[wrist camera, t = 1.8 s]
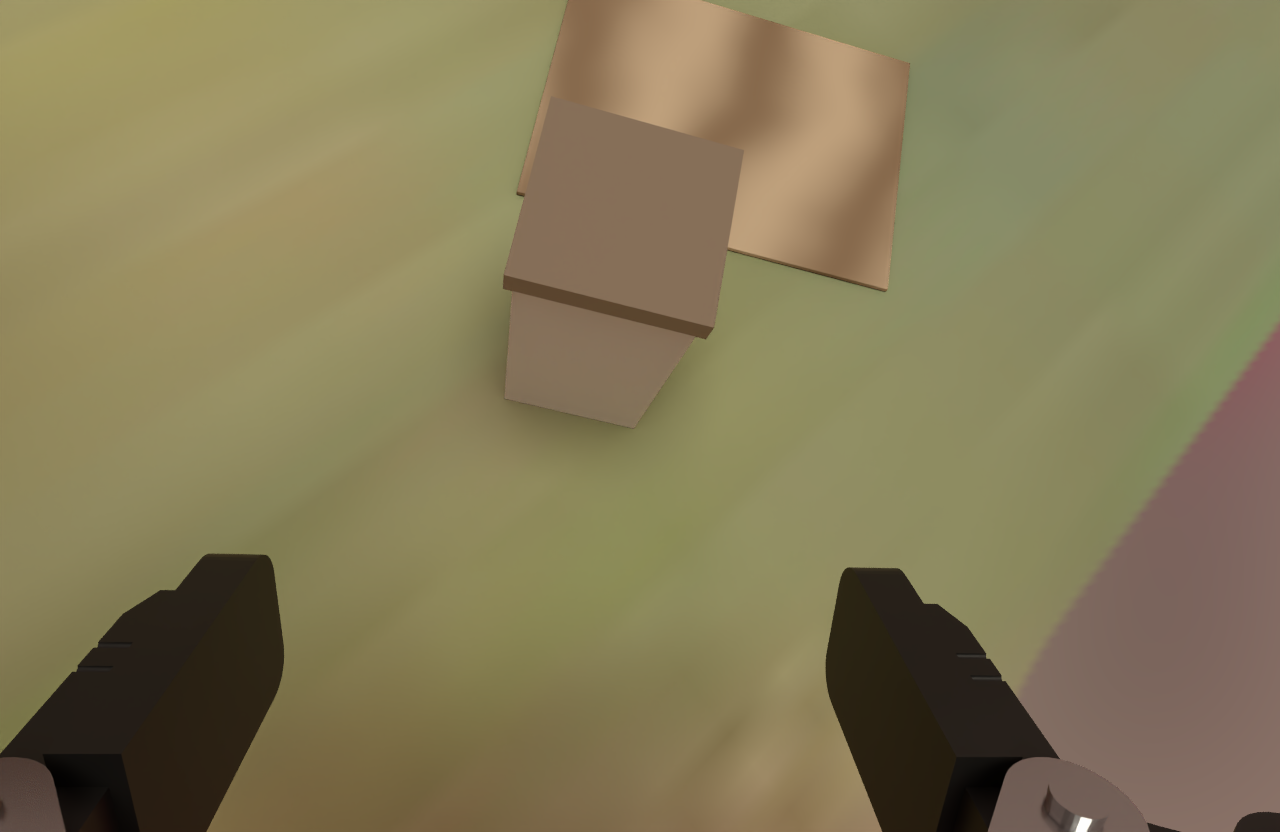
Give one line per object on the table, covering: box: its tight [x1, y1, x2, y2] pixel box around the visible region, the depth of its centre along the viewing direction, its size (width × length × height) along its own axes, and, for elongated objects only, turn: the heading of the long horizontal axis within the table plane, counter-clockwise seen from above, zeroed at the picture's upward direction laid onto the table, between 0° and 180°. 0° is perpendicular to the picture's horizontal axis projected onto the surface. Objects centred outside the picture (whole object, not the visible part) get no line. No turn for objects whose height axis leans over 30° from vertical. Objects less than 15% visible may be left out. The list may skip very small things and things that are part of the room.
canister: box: [503, 96, 744, 429], centre depth 26 cm, size 5×5×11 cm
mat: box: [517, 0, 910, 292], centre depth 35 cm, size 16×12×1 cm
